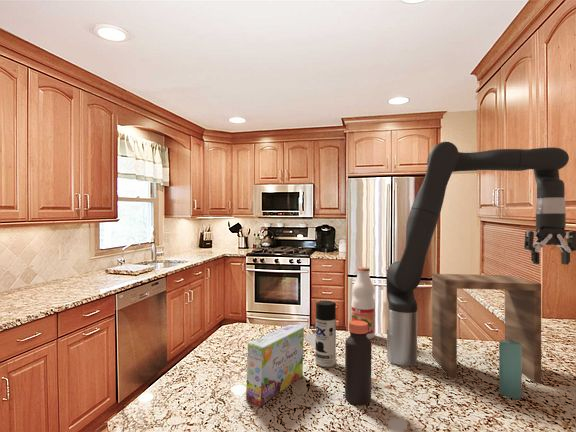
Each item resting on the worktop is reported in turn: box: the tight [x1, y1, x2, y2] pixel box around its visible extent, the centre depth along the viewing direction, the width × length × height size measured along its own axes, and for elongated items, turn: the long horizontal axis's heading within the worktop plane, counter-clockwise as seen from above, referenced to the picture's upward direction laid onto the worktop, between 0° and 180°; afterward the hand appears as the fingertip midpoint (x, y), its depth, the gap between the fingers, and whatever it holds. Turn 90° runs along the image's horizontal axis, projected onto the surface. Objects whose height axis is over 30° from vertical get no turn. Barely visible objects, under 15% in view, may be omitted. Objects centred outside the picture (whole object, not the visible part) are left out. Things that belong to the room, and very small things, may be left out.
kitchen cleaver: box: [304, 325, 316, 349], centre depth 140 cm, size 24×1×10 cm
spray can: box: [314, 300, 337, 368], centre depth 114 cm, size 7×7×20 cm
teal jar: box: [498, 339, 523, 400], centre depth 95 cm, size 5×5×14 cm
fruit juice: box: [351, 266, 376, 340], centre depth 142 cm, size 9×9×28 cm
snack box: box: [245, 324, 305, 407], centre depth 97 cm, size 21×6×15 cm, turn 148°
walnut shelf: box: [431, 273, 542, 384], centre depth 111 cm, size 26×16×29 cm, turn 85°
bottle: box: [344, 320, 373, 406], centre depth 91 cm, size 7×7×20 cm
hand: (550, 264), depth 109 cm, fingers open, 8 cm apart
